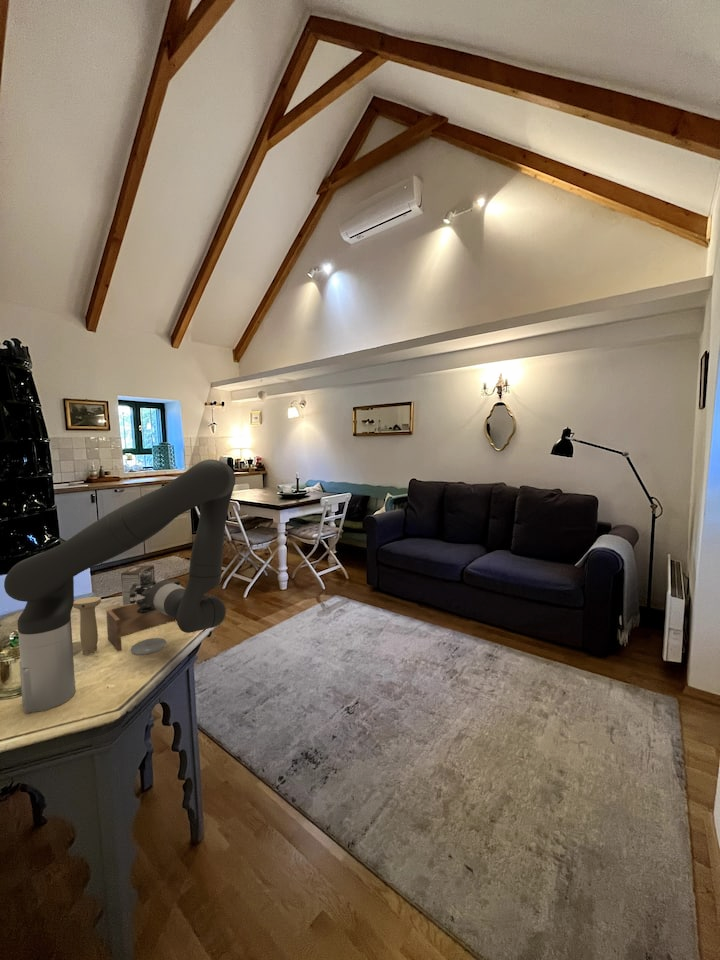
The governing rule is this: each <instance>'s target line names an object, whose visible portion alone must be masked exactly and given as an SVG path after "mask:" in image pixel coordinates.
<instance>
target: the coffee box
mask: <svg viewBox="0 0 720 960" xmlns="http://www.w3.org/2000/svg"><path fill="white" fill-rule="evenodd" d="M145 568H146V569H147V570H146V571H149V572H150V573H151V578H152V580H155V565H154V564H153V565H135V566H134V567H132V568H129V569H127V570H125V571H122V572H121V573H120V577H121V590H122V591H121V592H122V593H121V594H122V606H124V605H128V604H130V595H129V594H130V589H131V588H132V586H133V584H134V583H137V584H139V585H140V574H141V573H142V572H144V569H145ZM155 581H156V580H155ZM135 602H136V601H135Z"/></svg>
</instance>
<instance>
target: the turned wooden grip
mask: <svg viewBox="0 0 720 960" xmlns="http://www.w3.org/2000/svg"><path fill="white" fill-rule="evenodd" d="M101 603H102V598H101V596H90V597H89V596H87V597H82V598H78V599H77V598H76V599H74V603H73V607H72V608H74V609H76V610H79V613H80V614H79V615H80V616H79V617H80V619H79V620H80V621H79V622H80V623H79V625H80V627H79V636H80V637H79V638H80V643H81V644H80V645H81V648H82V650H81V651H82V654H83V655H86V656H89V655H92V654H95V653H96V652H97V651H98V641H99V633H98V625H97V618H96V607H98V606H99V605H100V604H101Z"/></svg>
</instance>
